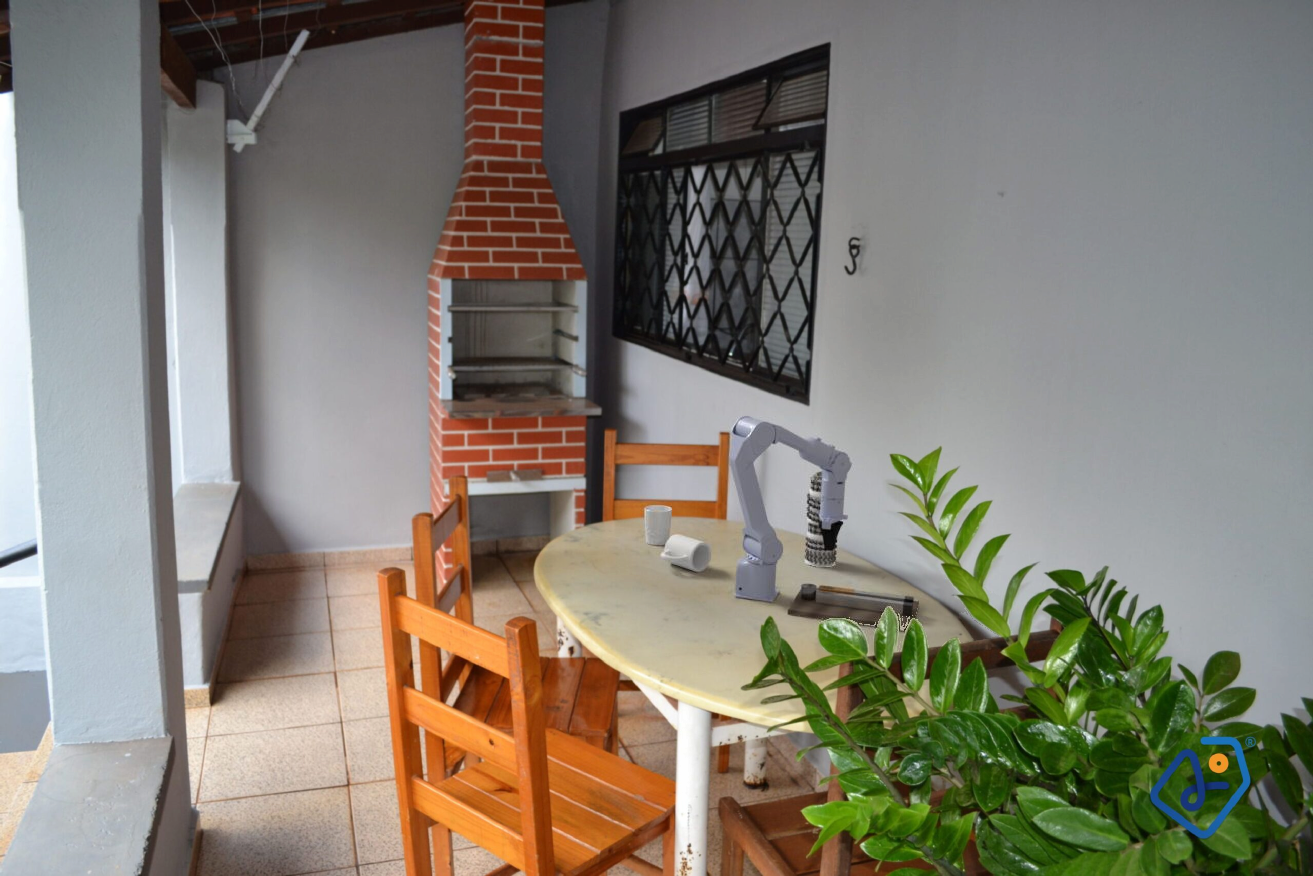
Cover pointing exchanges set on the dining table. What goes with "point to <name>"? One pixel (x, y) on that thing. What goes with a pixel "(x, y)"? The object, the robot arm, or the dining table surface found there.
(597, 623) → the dining table surface
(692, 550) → the mug
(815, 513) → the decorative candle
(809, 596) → the tong arm
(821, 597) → the grey long bar
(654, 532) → the white cup
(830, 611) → the walnut board
